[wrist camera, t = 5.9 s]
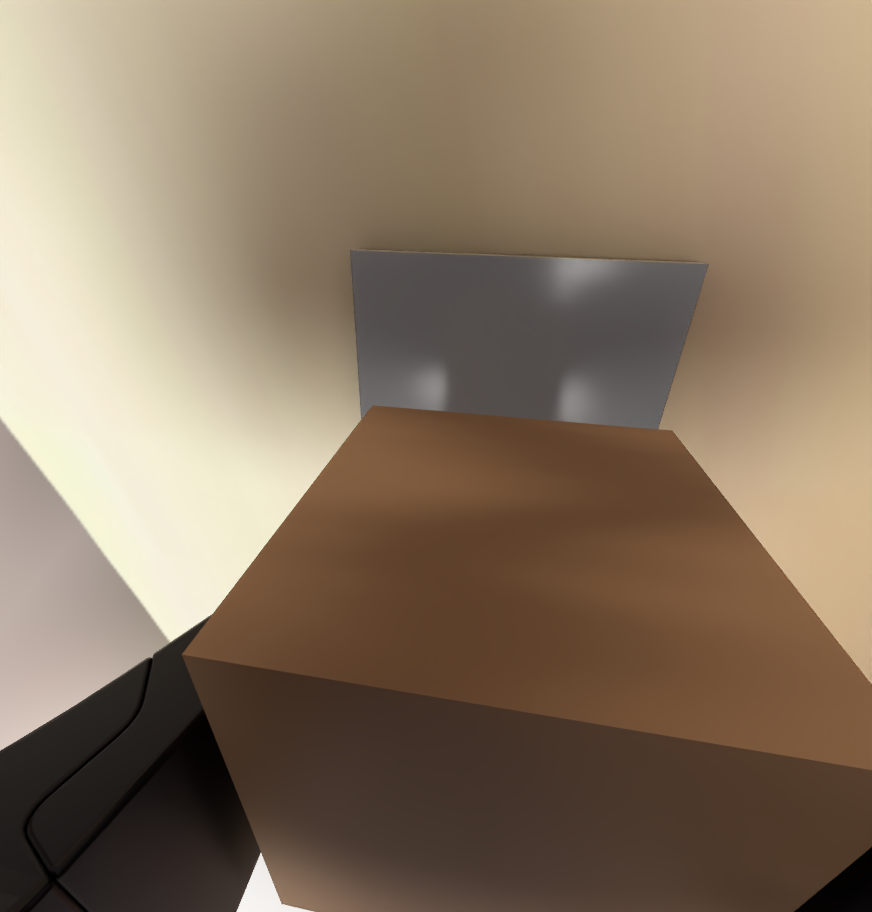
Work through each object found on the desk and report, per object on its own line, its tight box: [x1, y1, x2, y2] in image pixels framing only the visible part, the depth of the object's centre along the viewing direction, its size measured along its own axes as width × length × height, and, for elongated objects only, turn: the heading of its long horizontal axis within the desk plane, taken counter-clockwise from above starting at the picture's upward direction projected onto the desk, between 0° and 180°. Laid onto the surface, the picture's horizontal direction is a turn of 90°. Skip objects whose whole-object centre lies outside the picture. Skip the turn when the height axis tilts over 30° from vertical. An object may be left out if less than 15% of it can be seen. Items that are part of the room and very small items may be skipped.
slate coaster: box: [350, 249, 708, 429], centre depth 13 cm, size 9×9×1 cm
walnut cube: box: [182, 405, 872, 912], centre depth 6 cm, size 5×5×5 cm
